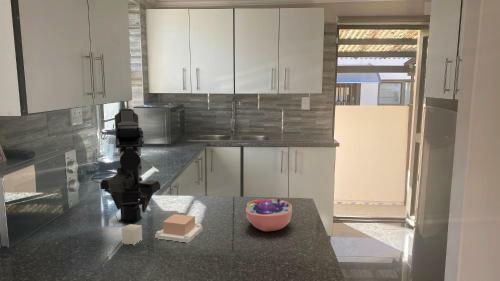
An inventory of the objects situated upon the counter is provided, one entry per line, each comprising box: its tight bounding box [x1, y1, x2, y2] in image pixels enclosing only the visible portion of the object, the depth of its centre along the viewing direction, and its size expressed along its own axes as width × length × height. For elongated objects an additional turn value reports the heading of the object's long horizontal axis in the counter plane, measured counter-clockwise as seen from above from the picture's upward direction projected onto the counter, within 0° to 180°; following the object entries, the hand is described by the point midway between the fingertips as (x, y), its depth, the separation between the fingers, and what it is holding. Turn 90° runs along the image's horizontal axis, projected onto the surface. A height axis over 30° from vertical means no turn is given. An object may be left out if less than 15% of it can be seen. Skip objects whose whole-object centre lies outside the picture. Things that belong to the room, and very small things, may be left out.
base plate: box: [154, 213, 204, 244], centre depth 127 cm, size 12×12×6 cm
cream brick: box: [121, 223, 143, 246], centre depth 121 cm, size 4×4×5 cm
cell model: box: [245, 198, 293, 232], centre depth 134 cm, size 17×20×11 cm
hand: (131, 210), depth 120 cm, fingers open, 9 cm apart
